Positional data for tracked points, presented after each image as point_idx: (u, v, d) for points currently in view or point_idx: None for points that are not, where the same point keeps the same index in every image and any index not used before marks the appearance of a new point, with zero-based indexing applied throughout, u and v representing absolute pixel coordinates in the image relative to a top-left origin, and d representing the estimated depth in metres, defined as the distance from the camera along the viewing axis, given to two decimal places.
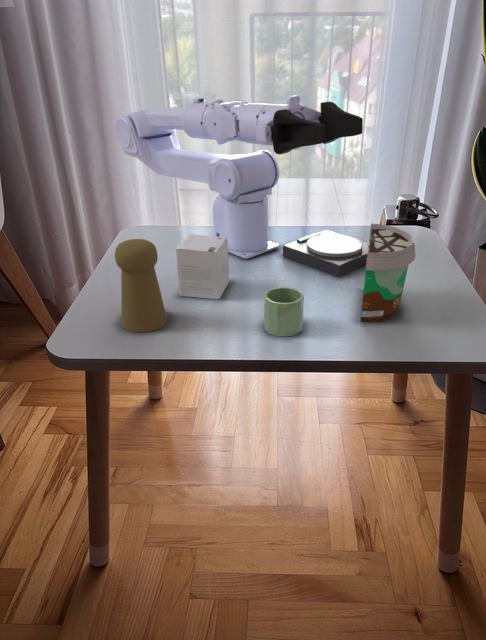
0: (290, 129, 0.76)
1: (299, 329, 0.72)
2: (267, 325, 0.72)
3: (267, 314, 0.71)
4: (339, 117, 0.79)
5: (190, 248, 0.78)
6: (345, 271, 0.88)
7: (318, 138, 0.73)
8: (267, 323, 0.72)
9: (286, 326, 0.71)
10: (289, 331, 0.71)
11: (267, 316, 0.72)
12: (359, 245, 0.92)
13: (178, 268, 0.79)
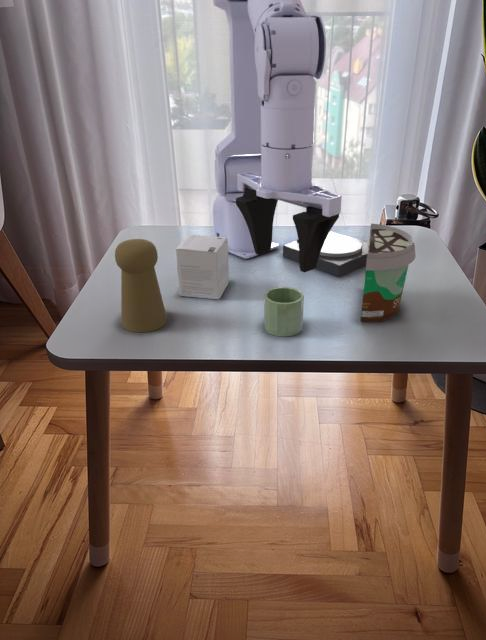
0: None
1: (299, 329, 0.72)
2: (267, 325, 0.72)
3: (267, 314, 0.71)
4: None
5: (190, 248, 0.78)
6: (345, 271, 0.88)
7: None
8: (267, 323, 0.72)
9: (286, 326, 0.71)
10: (289, 331, 0.71)
11: (267, 316, 0.72)
12: (359, 245, 0.92)
13: (178, 268, 0.79)
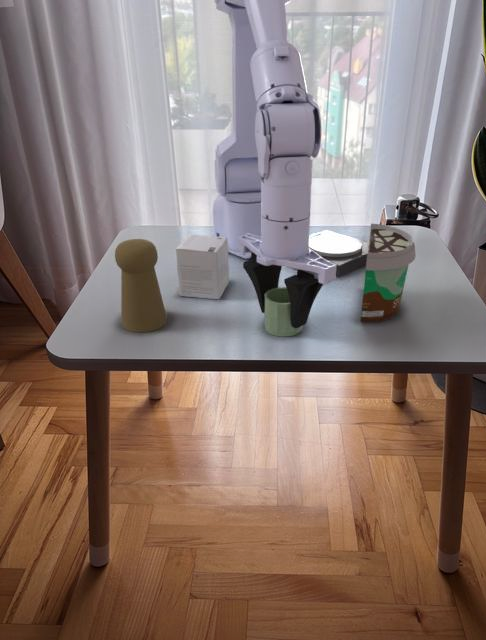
0: None
1: (299, 329, 0.72)
2: (267, 325, 0.72)
3: (267, 314, 0.71)
4: None
5: (190, 248, 0.78)
6: (345, 271, 0.88)
7: None
8: (267, 323, 0.72)
9: (286, 326, 0.71)
10: (289, 331, 0.71)
11: (267, 316, 0.72)
12: (359, 245, 0.92)
13: (178, 268, 0.79)
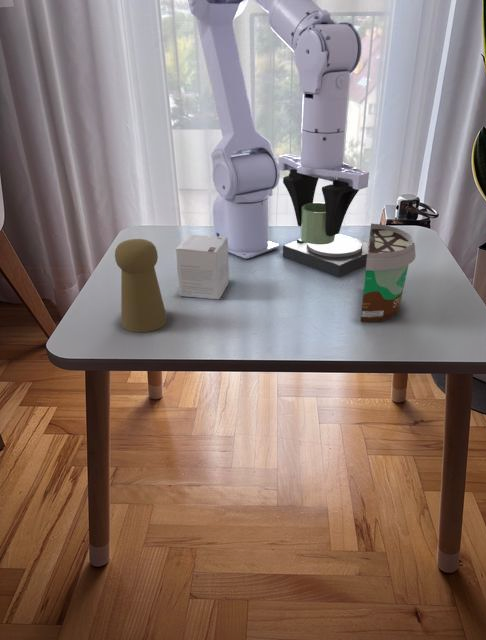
0: None
1: (332, 239, 0.81)
2: (304, 235, 0.81)
3: (304, 224, 0.80)
4: None
5: (190, 248, 0.78)
6: (345, 271, 0.88)
7: None
8: (304, 233, 0.80)
9: (321, 234, 0.79)
10: (324, 239, 0.80)
11: (304, 226, 0.80)
12: (359, 245, 0.92)
13: (178, 268, 0.79)
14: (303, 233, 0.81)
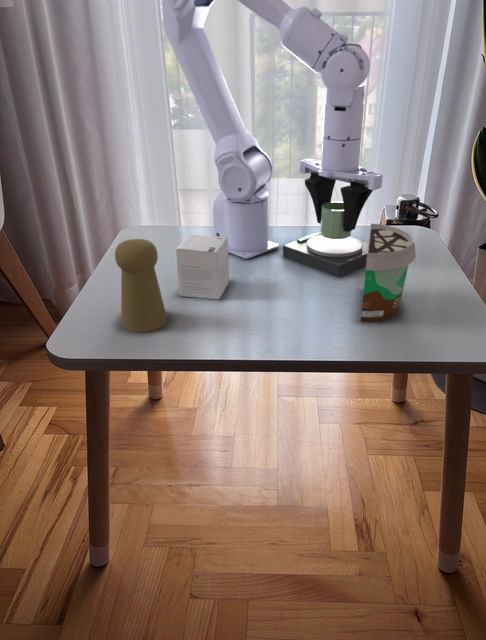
0: None
1: (349, 234, 0.90)
2: (323, 231, 0.90)
3: (324, 221, 0.89)
4: None
5: (190, 248, 0.78)
6: (345, 271, 0.88)
7: None
8: (324, 229, 0.90)
9: (339, 230, 0.89)
10: (341, 234, 0.90)
11: (324, 223, 0.90)
12: (359, 245, 0.92)
13: (178, 268, 0.79)
14: (323, 229, 0.90)
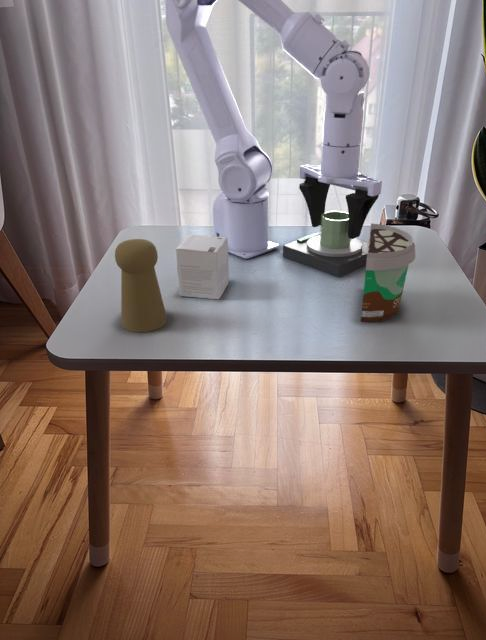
0: None
1: (348, 243, 0.91)
2: (323, 240, 0.91)
3: (323, 230, 0.90)
4: None
5: (190, 248, 0.78)
6: (345, 271, 0.88)
7: None
8: (323, 238, 0.91)
9: (338, 239, 0.90)
10: (341, 244, 0.90)
11: (323, 232, 0.90)
12: (359, 245, 0.92)
13: (178, 268, 0.79)
14: (322, 238, 0.91)
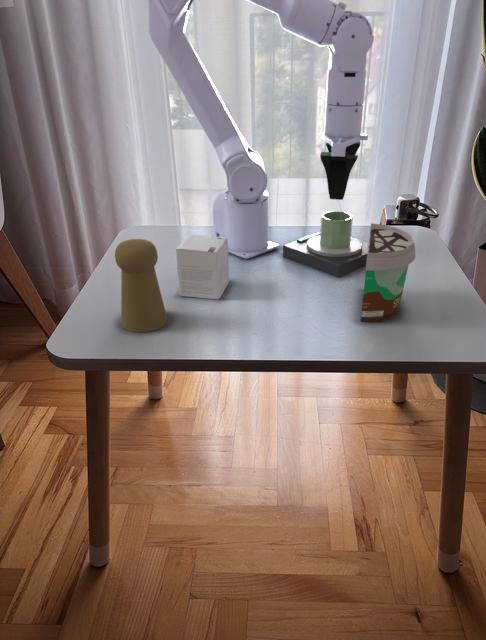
0: (341, 164, 0.87)
1: (348, 243, 0.91)
2: (323, 240, 0.91)
3: (323, 230, 0.90)
4: None
5: (190, 248, 0.78)
6: (345, 271, 0.88)
7: (333, 195, 0.90)
8: (323, 238, 0.91)
9: (338, 239, 0.90)
10: (341, 244, 0.90)
11: (323, 232, 0.90)
12: (359, 245, 0.92)
13: (178, 268, 0.79)
14: (322, 238, 0.91)
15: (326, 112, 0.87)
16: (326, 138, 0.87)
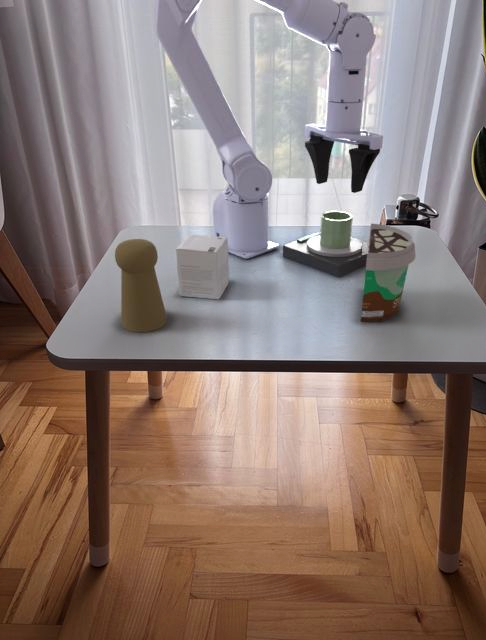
0: None
1: (348, 243, 0.91)
2: (323, 240, 0.91)
3: (323, 230, 0.90)
4: (327, 160, 0.98)
5: (190, 248, 0.78)
6: (345, 271, 0.88)
7: (357, 188, 0.93)
8: (323, 238, 0.91)
9: (338, 239, 0.90)
10: (341, 244, 0.90)
11: (323, 232, 0.90)
12: (359, 245, 0.92)
13: (178, 268, 0.79)
14: (322, 238, 0.91)
15: (339, 111, 0.88)
16: (347, 135, 0.89)
